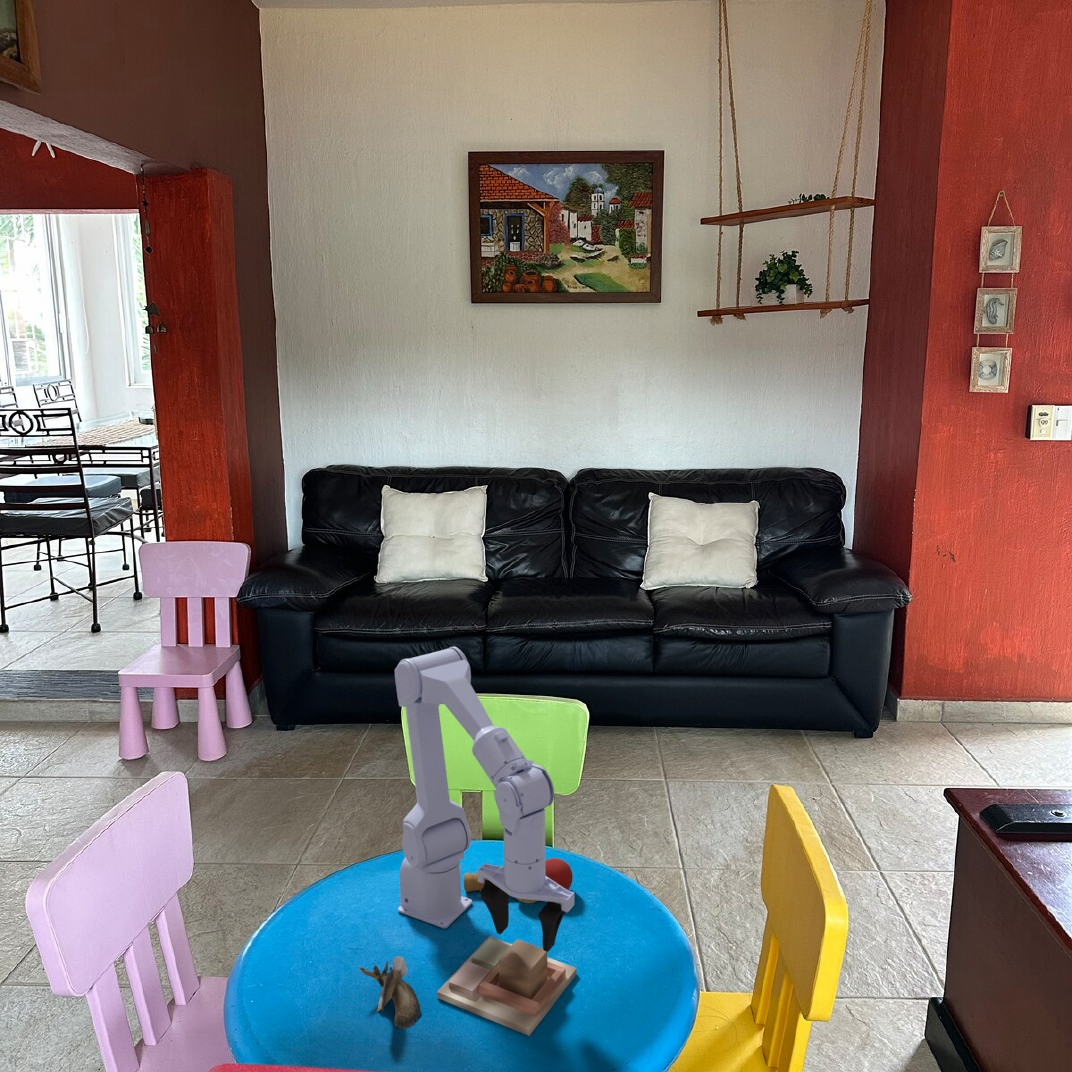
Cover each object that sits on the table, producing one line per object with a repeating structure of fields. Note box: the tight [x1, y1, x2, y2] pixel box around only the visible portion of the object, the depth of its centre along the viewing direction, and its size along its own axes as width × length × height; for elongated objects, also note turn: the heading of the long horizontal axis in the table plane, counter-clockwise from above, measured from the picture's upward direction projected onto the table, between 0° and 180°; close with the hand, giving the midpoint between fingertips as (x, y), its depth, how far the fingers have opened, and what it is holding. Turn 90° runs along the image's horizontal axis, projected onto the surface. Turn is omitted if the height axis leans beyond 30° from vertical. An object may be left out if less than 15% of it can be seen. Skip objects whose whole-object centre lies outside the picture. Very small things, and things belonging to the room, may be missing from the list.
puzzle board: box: [436, 935, 578, 1037], centre depth 140 cm, size 15×14×2 cm
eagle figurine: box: [358, 955, 421, 1030], centre depth 136 cm, size 8×7×9 cm
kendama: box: [463, 857, 574, 904], centre depth 162 cm, size 8×6×18 cm
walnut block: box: [499, 939, 548, 1000], centre depth 138 cm, size 5×5×5 cm
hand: (525, 938), depth 137 cm, fingers open, 7 cm apart
